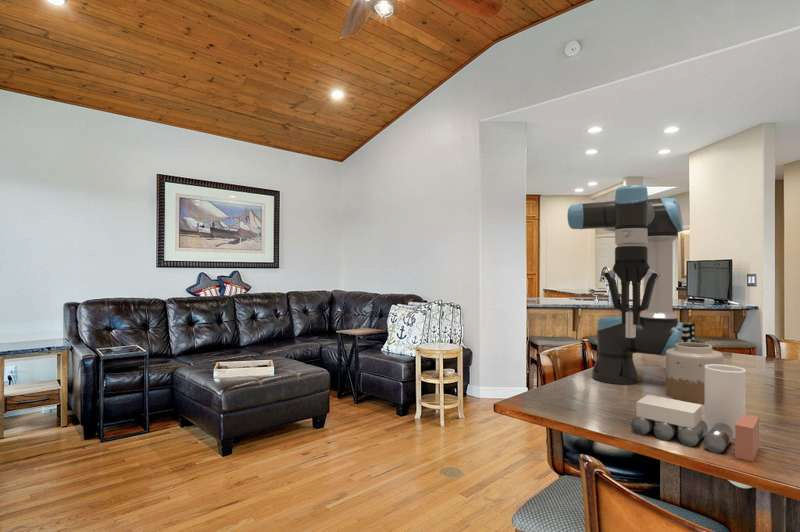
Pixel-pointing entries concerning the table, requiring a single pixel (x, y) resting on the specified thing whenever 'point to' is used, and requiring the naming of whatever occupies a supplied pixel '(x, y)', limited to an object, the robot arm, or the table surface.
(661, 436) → the rollers
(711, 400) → the cup
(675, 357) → the vase
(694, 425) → the board
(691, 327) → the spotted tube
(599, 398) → the table surface
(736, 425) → the block
